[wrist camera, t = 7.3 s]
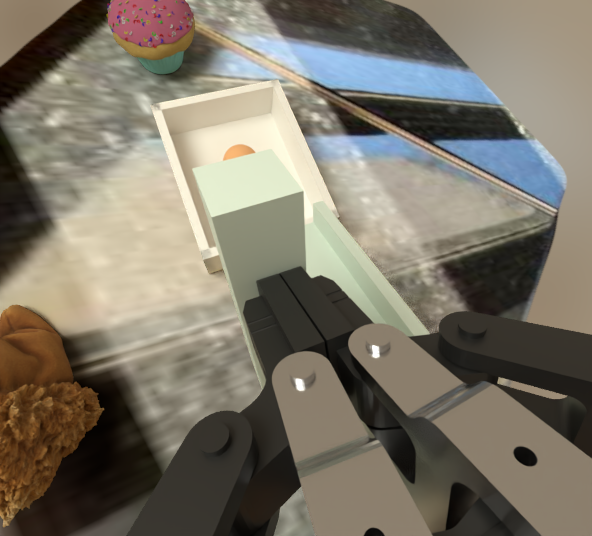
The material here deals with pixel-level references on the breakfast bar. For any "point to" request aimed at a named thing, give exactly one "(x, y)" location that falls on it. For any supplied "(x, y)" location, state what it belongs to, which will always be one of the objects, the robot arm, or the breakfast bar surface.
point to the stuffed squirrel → (36, 409)
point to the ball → (238, 151)
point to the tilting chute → (287, 240)
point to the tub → (226, 133)
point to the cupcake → (153, 31)
